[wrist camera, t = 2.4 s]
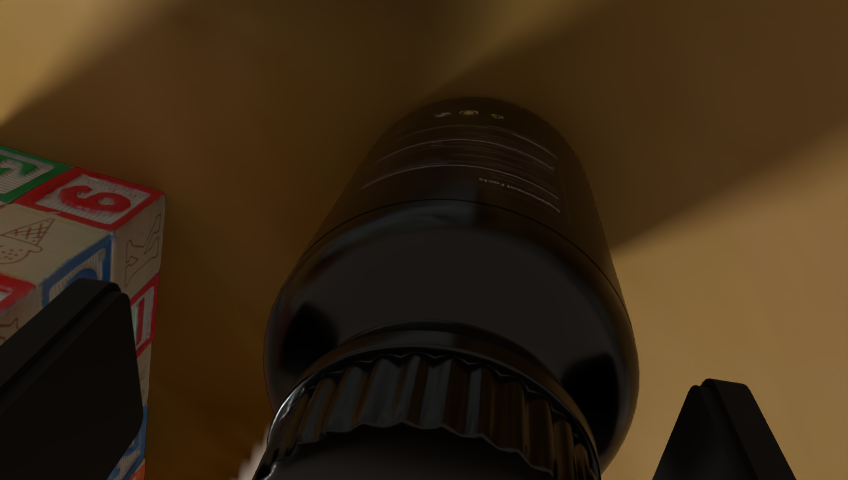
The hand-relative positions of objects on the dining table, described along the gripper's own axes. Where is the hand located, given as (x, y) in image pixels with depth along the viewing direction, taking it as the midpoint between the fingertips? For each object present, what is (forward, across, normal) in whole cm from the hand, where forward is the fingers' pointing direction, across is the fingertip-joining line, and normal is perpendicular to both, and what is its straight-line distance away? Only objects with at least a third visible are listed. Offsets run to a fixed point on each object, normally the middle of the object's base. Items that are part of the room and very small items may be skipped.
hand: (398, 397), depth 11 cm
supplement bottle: (+9, -1, 0) cm, 9 cm away
